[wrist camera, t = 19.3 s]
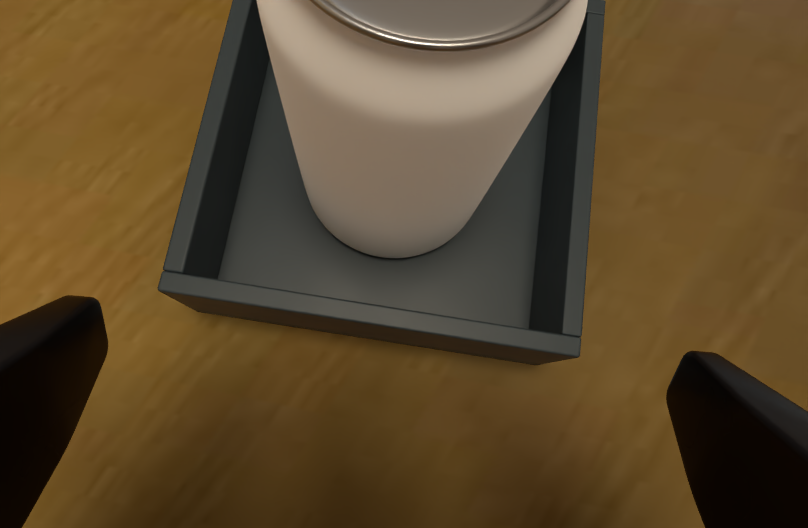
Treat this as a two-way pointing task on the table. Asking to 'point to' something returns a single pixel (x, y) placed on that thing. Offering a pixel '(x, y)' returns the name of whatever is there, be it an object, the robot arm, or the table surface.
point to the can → (410, 105)
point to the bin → (376, 276)
